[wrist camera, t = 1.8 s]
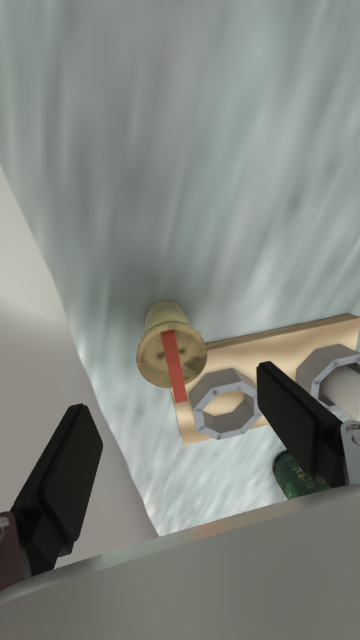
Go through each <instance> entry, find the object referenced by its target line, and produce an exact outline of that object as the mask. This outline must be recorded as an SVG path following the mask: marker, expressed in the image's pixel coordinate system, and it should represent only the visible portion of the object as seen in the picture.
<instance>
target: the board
mask: <svg viewBox="0 0 360 640" xmlns="http://www.w3.org/2000/svg"><path fill="white" fill-rule="evenodd" d="M359 329H360V317H358V316H355V315H352V314H346V315H341V316H336V317H332V318H327V319H322V320H317V321H313V322H308V323H303V324H299V325H294V326H289V327H284V328H280V329H275V330H270V331H265V332H261V333H256V334H251V335H247V336H242V337H237V338H232V339H228V340H223V341H218V342H213V343H209V344H206V347H207V354H208V356H207V362H206V365H205V367H204V369H203V371H202V372H201V374H200V375H199V376H198V377H197V378H196V379H195V380H193V381H192V382H190V383H188V384H186V385H185V389H186V395H187V400H188V401H184V402H180V403H175V398H174V394H173V389H172V388H171V392H172V396H173V401H174V405H175V409H176V414H177V418H178V423H179V427H180V432H181V436H182V441H183V445H188V444H192V443H196V442H200V441H204V440H208V439H212V437H209V436H207V435H205V434H202V433H200V432H197V430H196V426H195V422H194V418H193V413H192V408H191V402H190V397H189V393H190V392H191V390H192V389H193V388H194V387H195V386H196V384H197V383H198V382H199V381H200V380H201V378H202V377H203V376H204V375H205V374H206V373H210V372H215V371H219V370H224V369H228V368H234V369H236V370H237V371H239V372H241V373H242V374H244V375H246V376H247V377H249V378H250V379H252V380H253V382H254V383H255V384H256V386H257V377H256V367H257V366H259V363H261V362H265V361H271V362H273V363H274V364H275V365H276V366H277V367H278V368H279V369H281V370H282V371H283V372H284V373H285V374H286V375H288V376H289V377H290V378H291V379H292V380H293V381H294V382H295V380H296V369H297V368H298V367H299V366H300V365H301V364H302V362H303V361H304V360H305V359H306V358H307V357H308V356H309V355H310V354H311V353H312V352H313V351H314V350H315V349H318V348H322V347H327V346H331V345H336V344H342V345H344V346H346V347H348V348H350V349H352V350H355V348H356V343H357V339H358V334H359ZM244 399H245V397H244V392H242V391H240V390H239V389H238V390H234V391H230V392H225V393H221V394H217V395H216V396H215V397H214V398H213V399H212V400H211V401H210V402H209V404H208V405H207V406H206V407H205V408H204V409H203V410H202V411H204V412H206V413H208V414H211V415H213V416H218V415H222V414H226V413H230V412H233V411H234V410H235V409H236V407H237V406H238V405H239V404H240V403H241V402H242V401H243V400H244ZM268 424H269V423H268V421H267V420H266V418H265V417H264V416H263V415H262V416H261V417H260V418H259V419H258V420H257V421H256V422H255V423H254V424H253V425H252V426H251V427H250V428H249V429H252V428H256V427H260V426H264V425H268Z"/></svg>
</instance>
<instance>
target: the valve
mask: <svg viewBox="0 0 360 640" xmlns="http://www.w3.org/2000/svg"><path fill="white" fill-rule="evenodd" d="M207 356H208V354H207V347H206V344H205V342H204V340H203V339H202V337H201V335H200V334H199V332H198V331H197V330H196V329H195V328H194V327H192V326H191V325H190V323H189V321H188V319H187V317H186V315H185V313H184V311H183V309H182V308H181V307H180V306H179V305H178V304H176V303H174V302H172V301H160V302H157V303H155V304H154V305H152V306H151V307H150V309H149V310H148V312H147V314H146V319H145V328H144V335H143V336H142V338H141V340H140V342H139V345H138V350H137V358H136V360H137V366H138V369H139V371H140V373H141V375H142V376H143V377H144V378H145V379H146V380H147V381H149V382H150V383H152V384H154V385H156V386H159V387H164V388H172V389H173V394H174V398H175V403H180V402H184V401H188V400H187V395H186V389H185V385H186V384H188V383H190V382H192V381H193V380H195V379H196V378H197V377H198V376H199V375H200V374H201V372H202V371H203V369H204V367H205V365H206V362H207Z"/></svg>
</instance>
